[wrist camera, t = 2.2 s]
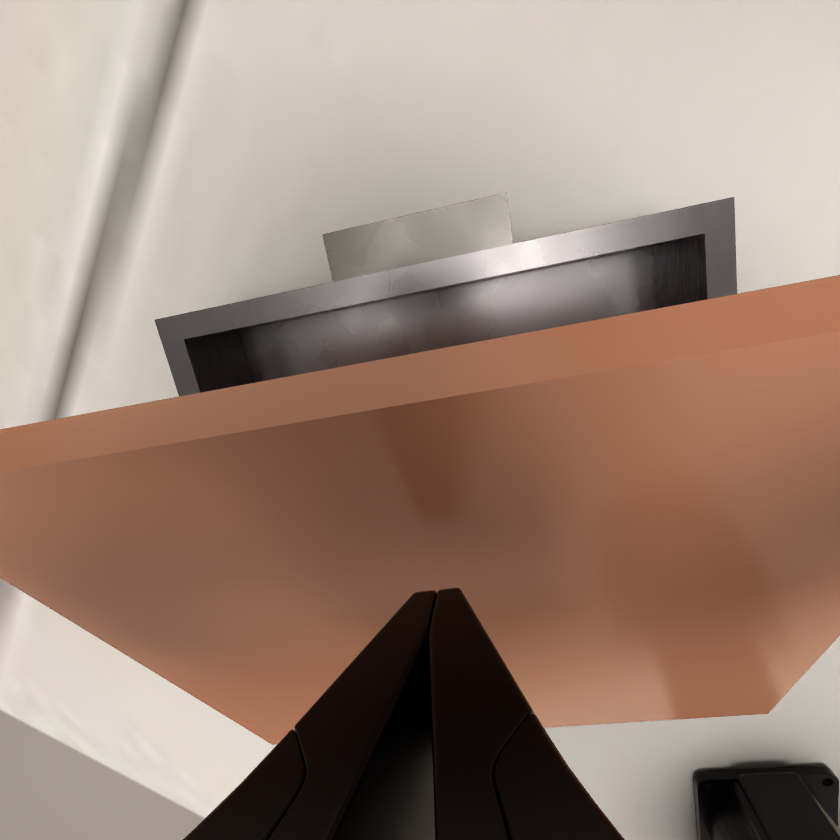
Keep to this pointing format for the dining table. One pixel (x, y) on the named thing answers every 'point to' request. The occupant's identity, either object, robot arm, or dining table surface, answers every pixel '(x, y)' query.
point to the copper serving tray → (468, 514)
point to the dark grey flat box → (453, 290)
